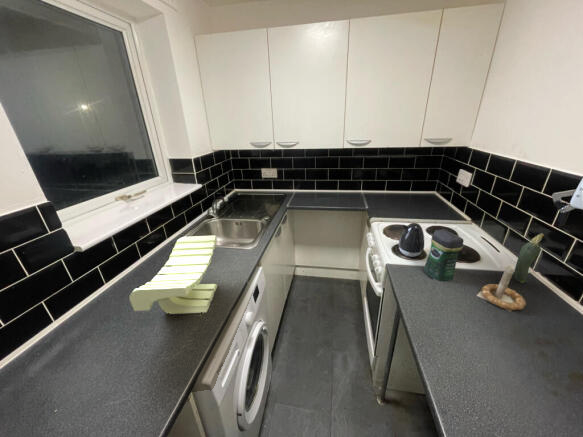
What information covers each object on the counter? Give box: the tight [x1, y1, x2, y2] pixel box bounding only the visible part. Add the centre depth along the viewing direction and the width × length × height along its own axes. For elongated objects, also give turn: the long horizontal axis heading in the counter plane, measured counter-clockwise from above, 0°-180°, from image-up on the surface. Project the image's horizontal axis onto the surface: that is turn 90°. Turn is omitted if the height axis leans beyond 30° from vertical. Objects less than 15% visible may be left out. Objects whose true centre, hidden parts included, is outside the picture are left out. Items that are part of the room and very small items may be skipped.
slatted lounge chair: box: [129, 234, 218, 315], centre depth 80 cm, size 30×16×18 cm, turn 1°
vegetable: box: [513, 232, 545, 284], centre depth 81 cm, size 4×4×20 cm
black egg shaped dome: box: [397, 222, 425, 258], centre depth 101 cm, size 10×10×15 cm
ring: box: [480, 283, 527, 311], centre depth 75 cm, size 11×11×2 cm
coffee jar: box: [423, 228, 464, 282], centre depth 86 cm, size 10×8×19 cm
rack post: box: [476, 265, 516, 313], centre depth 74 cm, size 9×9×13 cm
